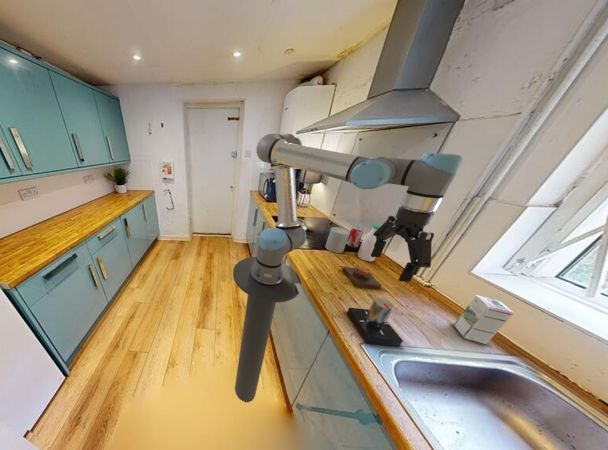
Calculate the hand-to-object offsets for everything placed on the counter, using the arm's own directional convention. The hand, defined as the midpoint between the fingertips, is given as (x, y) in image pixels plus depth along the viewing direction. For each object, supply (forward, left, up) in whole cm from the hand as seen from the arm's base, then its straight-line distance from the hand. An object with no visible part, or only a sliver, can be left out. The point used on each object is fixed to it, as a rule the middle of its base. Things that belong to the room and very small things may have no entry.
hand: (388, 267), depth 67 cm
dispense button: (-21, +9, -17) cm, 28 cm away
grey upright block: (+7, -3, -18) cm, 20 cm away
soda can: (-55, +23, -21) cm, 63 cm away
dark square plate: (-21, +9, -21) cm, 31 cm away
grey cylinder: (-49, +10, -21) cm, 54 cm away
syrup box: (+5, +30, -21) cm, 37 cm away
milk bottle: (-41, +23, -21) cm, 51 cm away
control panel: (+7, -3, -21) cm, 22 cm away
